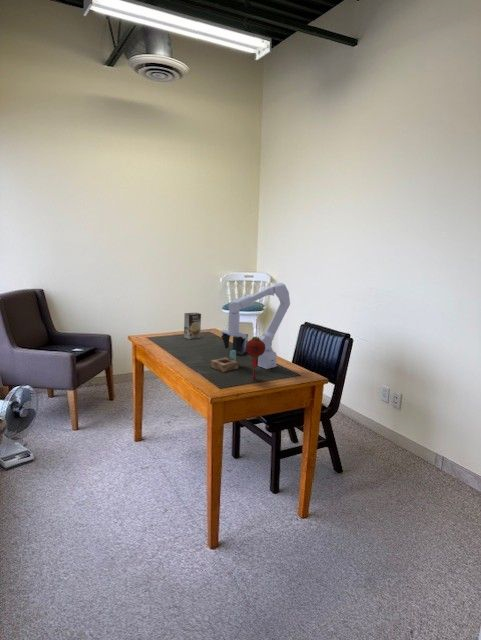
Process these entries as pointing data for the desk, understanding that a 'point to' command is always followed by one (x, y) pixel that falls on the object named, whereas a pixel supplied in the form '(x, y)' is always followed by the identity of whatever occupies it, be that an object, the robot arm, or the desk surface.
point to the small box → (243, 348)
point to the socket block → (224, 364)
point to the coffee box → (192, 325)
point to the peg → (233, 355)
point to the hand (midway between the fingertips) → (232, 349)
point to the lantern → (255, 350)
